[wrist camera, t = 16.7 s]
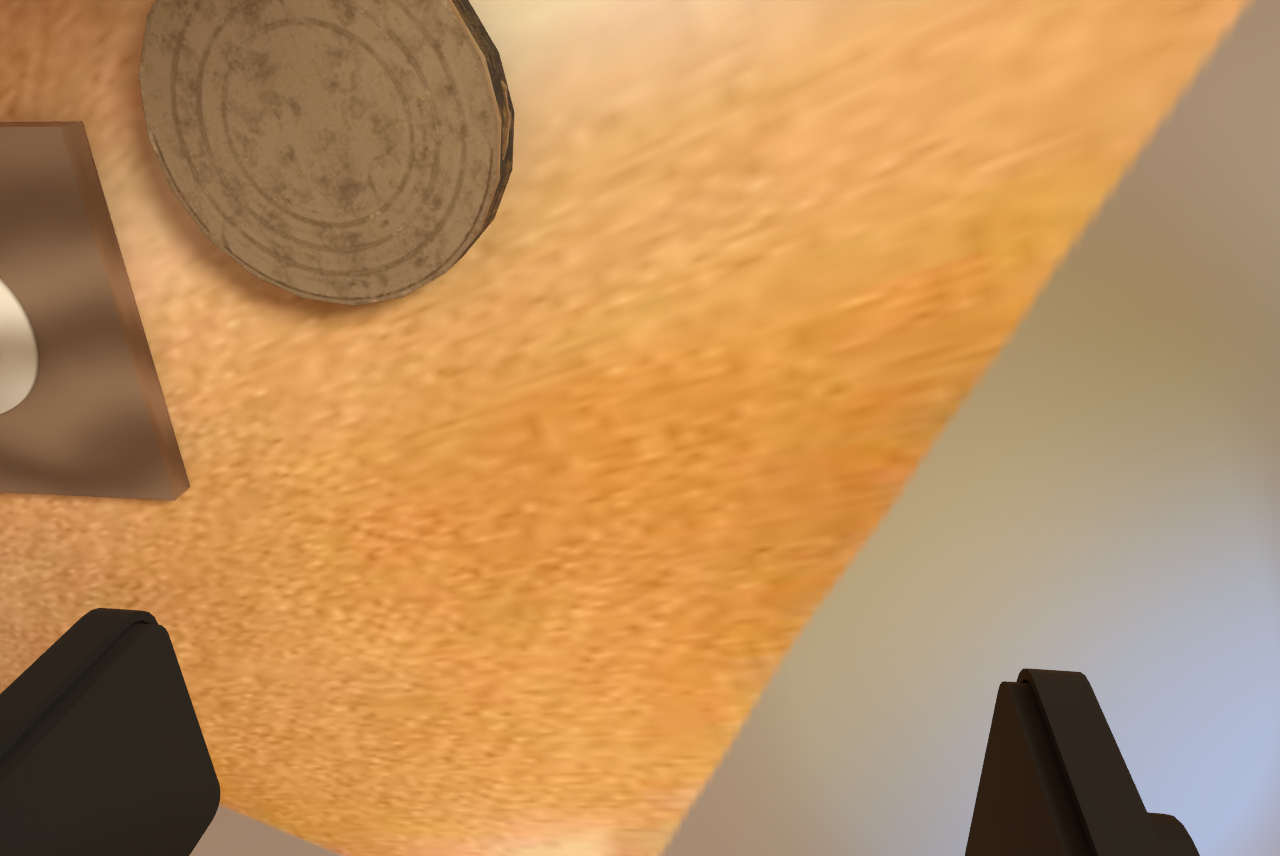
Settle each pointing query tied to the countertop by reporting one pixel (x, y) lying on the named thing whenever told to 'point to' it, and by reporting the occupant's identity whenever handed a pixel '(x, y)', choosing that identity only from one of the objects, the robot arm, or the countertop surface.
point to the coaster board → (72, 334)
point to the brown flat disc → (330, 136)
